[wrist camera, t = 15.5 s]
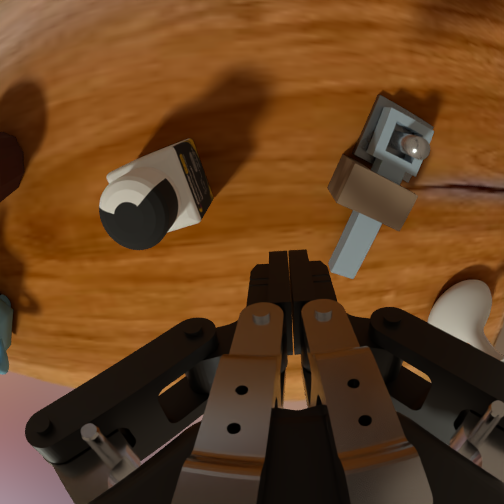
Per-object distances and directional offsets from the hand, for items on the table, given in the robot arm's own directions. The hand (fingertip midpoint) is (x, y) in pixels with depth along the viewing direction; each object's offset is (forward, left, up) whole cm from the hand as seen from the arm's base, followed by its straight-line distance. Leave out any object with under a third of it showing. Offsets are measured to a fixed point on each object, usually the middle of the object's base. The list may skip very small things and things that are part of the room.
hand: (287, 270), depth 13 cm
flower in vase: (+8, +32, -21) cm, 39 cm away
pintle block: (-8, +10, -21) cm, 25 cm away
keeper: (-2, +9, -21) cm, 23 cm away
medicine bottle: (+5, -10, -21) cm, 24 cm away
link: (-2, +10, -20) cm, 23 cm away
